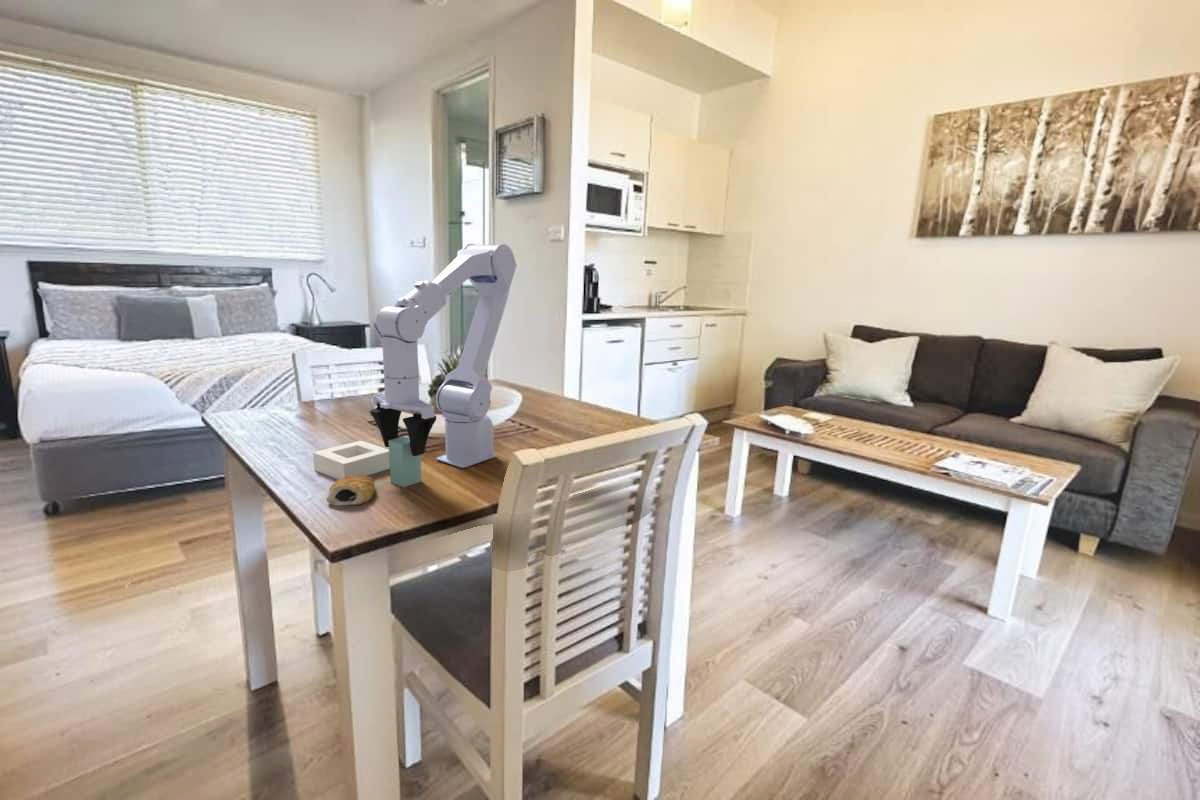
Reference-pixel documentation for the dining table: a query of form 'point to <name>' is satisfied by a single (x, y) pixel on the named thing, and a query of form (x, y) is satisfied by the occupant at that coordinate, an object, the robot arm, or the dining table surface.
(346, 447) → the well
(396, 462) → the post
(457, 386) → the robot arm
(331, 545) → the dining table surface
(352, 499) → the pastry
